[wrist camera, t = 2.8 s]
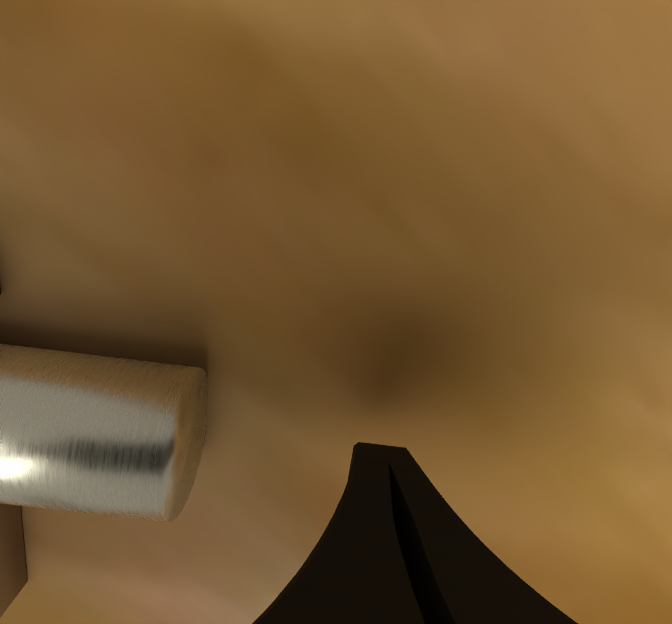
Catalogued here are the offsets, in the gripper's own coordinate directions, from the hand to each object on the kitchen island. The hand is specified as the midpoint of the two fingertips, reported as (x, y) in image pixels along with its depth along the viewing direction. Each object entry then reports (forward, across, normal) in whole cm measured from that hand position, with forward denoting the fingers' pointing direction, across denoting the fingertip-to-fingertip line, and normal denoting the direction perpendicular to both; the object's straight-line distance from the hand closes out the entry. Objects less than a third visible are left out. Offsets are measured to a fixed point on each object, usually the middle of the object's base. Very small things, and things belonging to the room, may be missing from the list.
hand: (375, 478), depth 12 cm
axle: (+3, +11, 0) cm, 11 cm away
